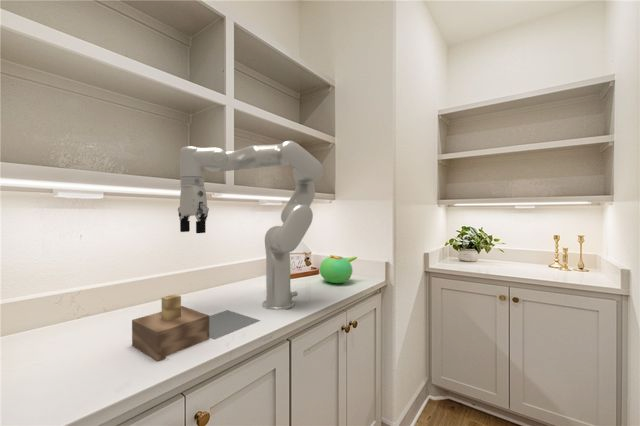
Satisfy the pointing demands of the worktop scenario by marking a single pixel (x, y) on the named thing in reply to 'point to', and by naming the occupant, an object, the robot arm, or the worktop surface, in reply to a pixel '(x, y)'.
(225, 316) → the rubber mat
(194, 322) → the square lid with knob
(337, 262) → the green rounded piece
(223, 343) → the worktop surface
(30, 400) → the worktop surface
